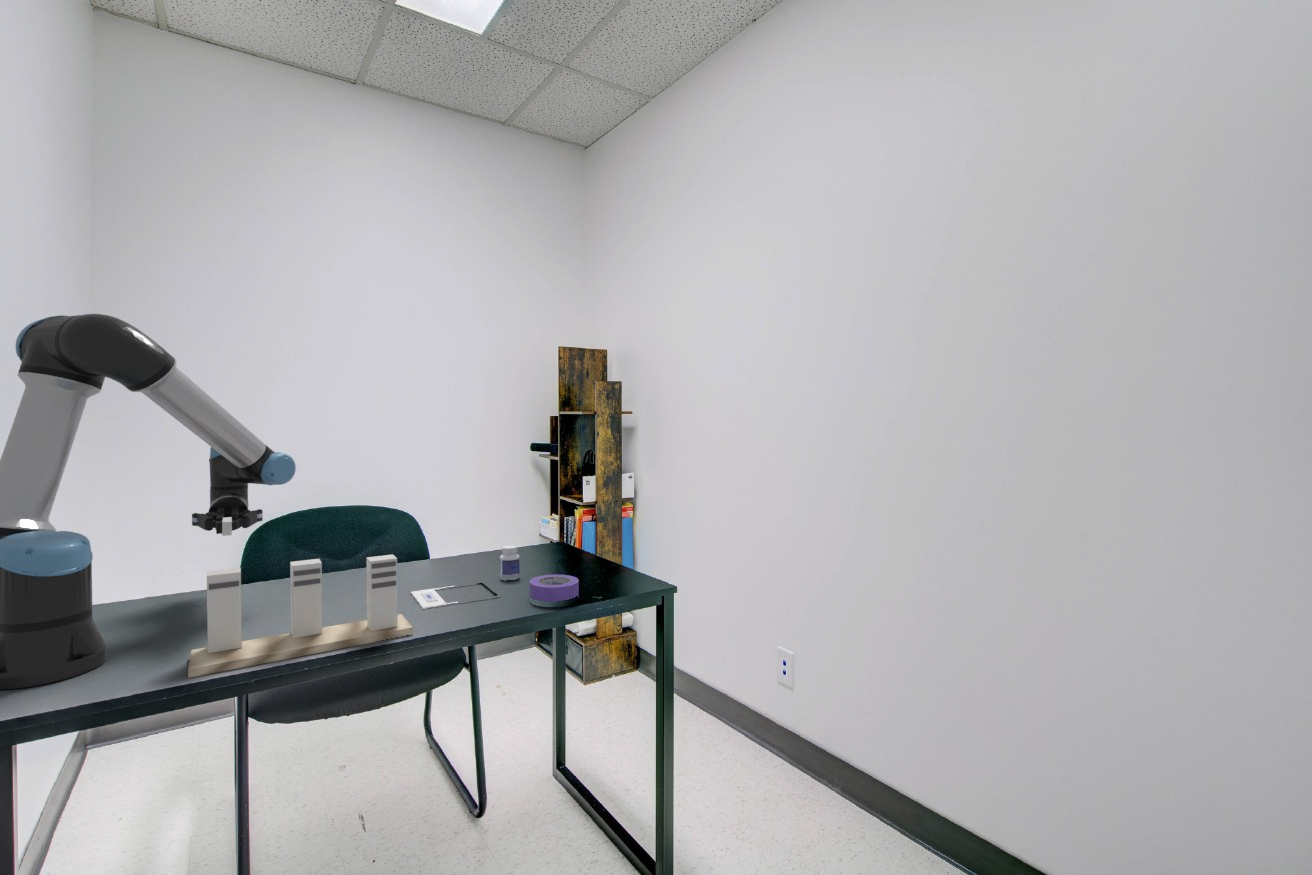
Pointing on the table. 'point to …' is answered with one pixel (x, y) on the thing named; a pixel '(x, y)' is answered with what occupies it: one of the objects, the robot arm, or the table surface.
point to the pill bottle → (509, 562)
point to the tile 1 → (224, 610)
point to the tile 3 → (381, 592)
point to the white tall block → (306, 597)
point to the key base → (291, 646)
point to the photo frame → (429, 598)
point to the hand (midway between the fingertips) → (226, 528)
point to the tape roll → (554, 588)
